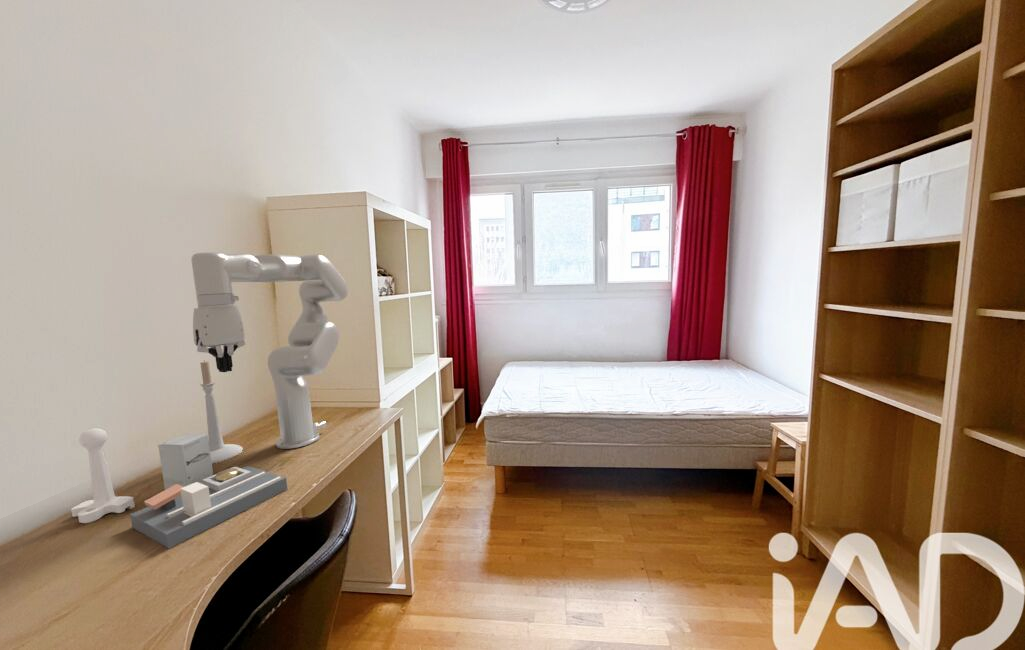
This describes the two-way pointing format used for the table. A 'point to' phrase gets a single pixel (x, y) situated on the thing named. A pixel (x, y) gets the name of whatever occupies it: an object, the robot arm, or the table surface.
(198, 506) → the white slider block
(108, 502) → the joystick
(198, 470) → the supplement box
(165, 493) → the rocker switch
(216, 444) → the candlestick
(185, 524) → the control panel
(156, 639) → the table surface
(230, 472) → the push button
